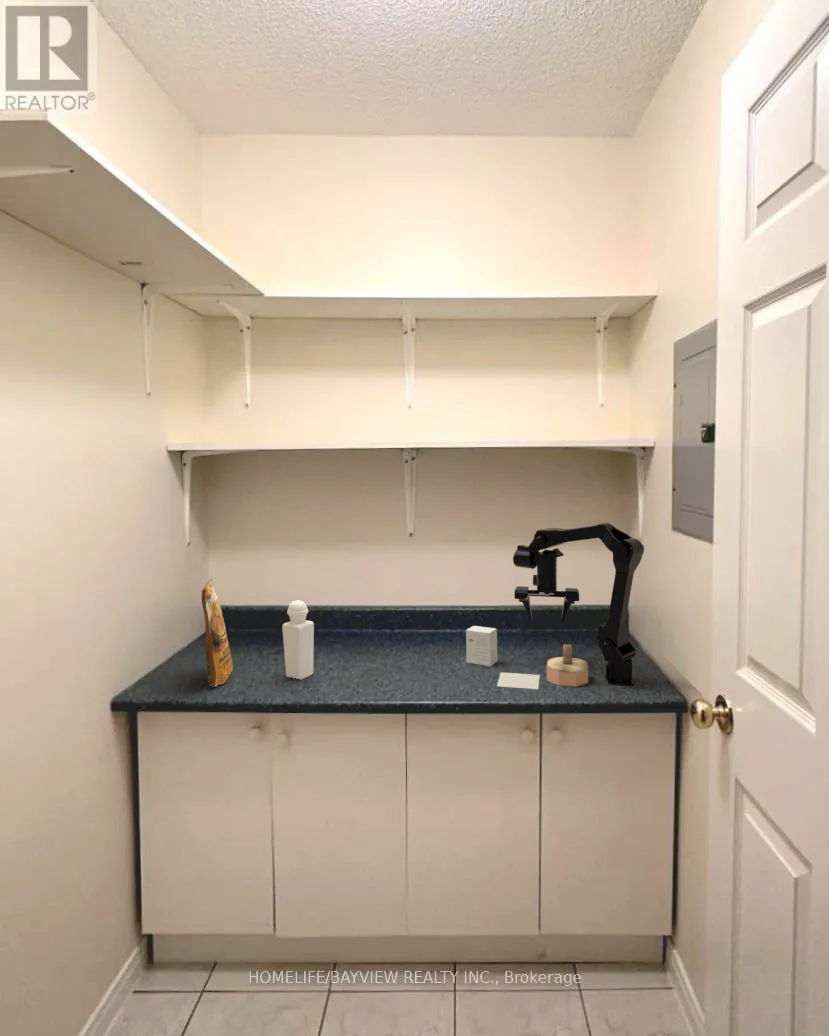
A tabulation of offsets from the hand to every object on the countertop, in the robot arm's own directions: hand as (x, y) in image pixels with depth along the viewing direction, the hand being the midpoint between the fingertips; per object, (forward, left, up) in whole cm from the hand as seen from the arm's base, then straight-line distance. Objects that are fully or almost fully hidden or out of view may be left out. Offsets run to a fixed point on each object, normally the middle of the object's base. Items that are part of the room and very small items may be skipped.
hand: (546, 621), depth 184 cm
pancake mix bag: (+91, +32, -13) cm, 97 cm away
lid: (-6, +14, -8) cm, 17 cm away
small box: (+19, +4, -13) cm, 23 cm away
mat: (+7, +18, -12) cm, 23 cm away
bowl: (-6, +14, -12) cm, 20 cm away
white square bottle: (+69, +25, -13) cm, 74 cm away
